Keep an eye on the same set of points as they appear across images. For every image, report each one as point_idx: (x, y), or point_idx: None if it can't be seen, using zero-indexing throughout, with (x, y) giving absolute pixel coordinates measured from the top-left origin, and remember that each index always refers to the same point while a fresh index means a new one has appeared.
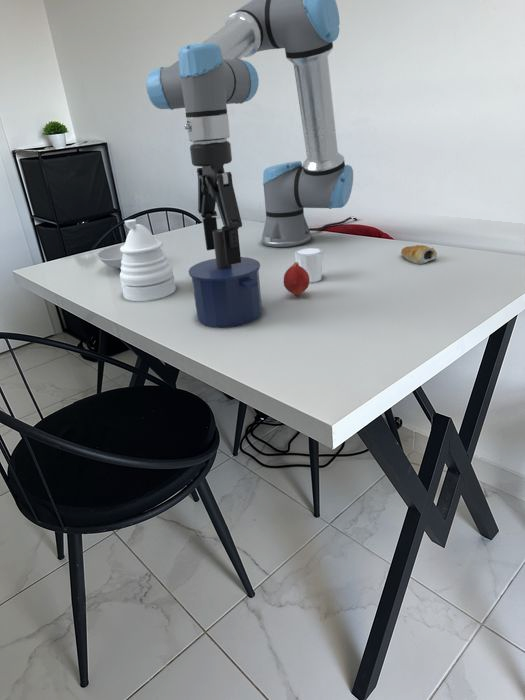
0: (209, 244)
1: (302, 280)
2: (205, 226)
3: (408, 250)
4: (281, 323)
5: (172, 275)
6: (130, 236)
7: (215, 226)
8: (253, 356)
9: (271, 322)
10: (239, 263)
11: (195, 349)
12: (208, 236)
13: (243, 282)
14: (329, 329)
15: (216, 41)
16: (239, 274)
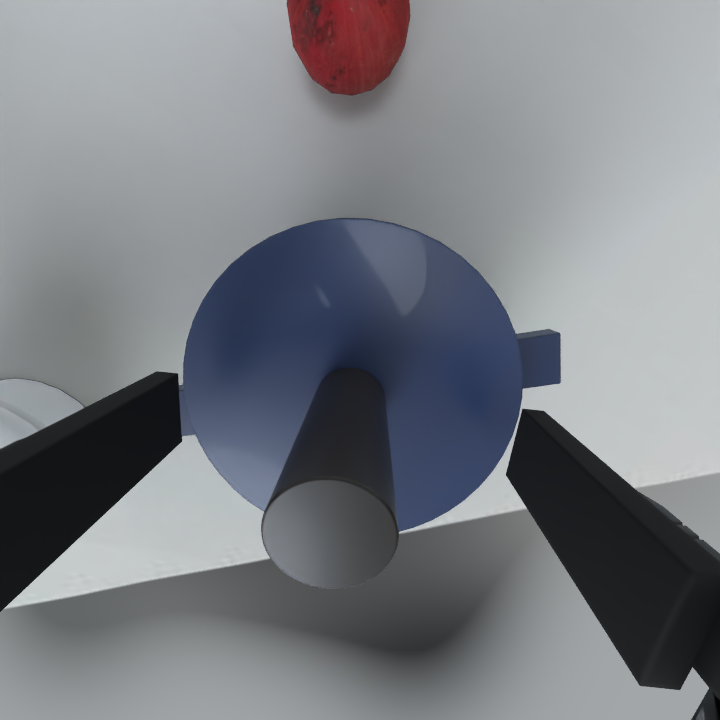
0: (161, 444)
1: (409, 10)
2: (60, 545)
3: None
4: (520, 252)
5: (11, 412)
6: None
7: (60, 456)
8: (628, 408)
9: (492, 272)
10: (349, 320)
11: (494, 489)
12: (127, 475)
13: (527, 386)
14: (671, 152)
15: None
16: (508, 398)
